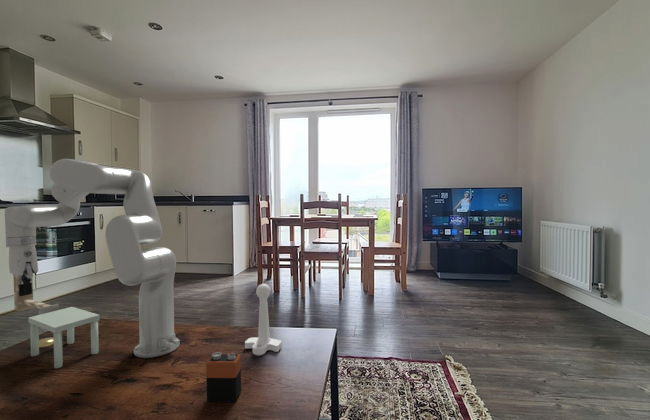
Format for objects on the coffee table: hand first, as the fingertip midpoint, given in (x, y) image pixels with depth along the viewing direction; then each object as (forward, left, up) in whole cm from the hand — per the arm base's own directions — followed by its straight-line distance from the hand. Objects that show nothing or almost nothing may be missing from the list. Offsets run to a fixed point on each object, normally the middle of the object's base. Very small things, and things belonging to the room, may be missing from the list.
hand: (23, 294), depth 107 cm
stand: (-30, 0, -14) cm, 33 cm away
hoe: (-9, 0, -5) cm, 10 cm away
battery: (-89, -7, -15) cm, 90 cm away
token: (-16, 0, -15) cm, 21 cm away
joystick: (-82, -29, -15) cm, 88 cm away
